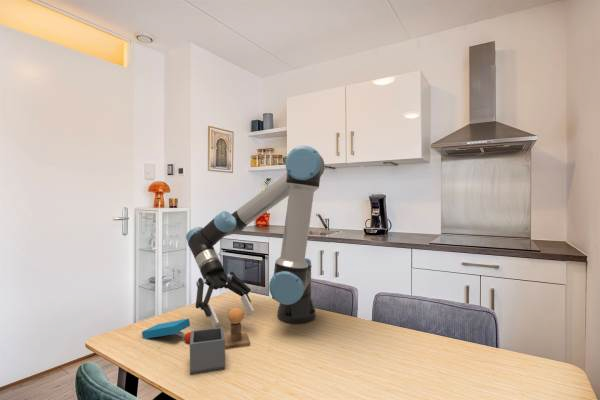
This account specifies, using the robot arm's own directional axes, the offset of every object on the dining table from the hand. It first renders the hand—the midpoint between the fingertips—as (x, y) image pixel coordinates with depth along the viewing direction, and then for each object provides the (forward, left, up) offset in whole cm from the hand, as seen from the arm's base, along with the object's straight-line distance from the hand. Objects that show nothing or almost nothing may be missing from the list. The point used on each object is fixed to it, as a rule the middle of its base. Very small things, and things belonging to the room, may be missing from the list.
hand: (234, 318), depth 100 cm
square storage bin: (+9, +11, -8) cm, 16 cm away
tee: (0, 0, -8) cm, 8 cm away
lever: (+20, -10, -8) cm, 24 cm away
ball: (0, 0, +1) cm, 1 cm away
